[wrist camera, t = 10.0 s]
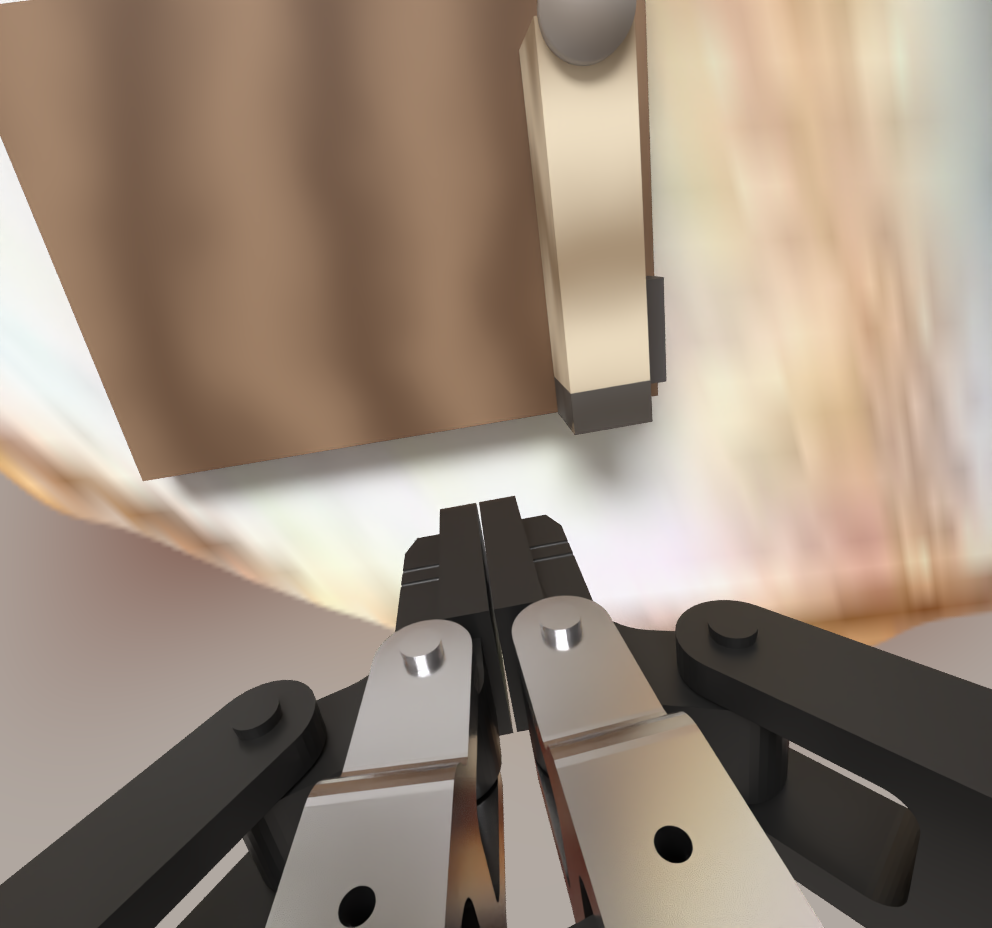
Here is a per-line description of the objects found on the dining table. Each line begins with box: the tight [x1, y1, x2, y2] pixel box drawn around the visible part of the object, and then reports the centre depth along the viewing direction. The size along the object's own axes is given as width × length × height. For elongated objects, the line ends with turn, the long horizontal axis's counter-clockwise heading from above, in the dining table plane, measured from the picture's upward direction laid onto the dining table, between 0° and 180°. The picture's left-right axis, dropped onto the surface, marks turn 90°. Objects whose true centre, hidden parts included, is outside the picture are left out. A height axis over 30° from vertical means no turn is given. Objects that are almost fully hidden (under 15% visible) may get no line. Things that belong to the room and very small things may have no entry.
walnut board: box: [0, 0, 666, 481], centre depth 21 cm, size 22×16×4 cm
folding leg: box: [519, 0, 652, 435], centre depth 20 cm, size 14×3×4 cm, turn 8°
